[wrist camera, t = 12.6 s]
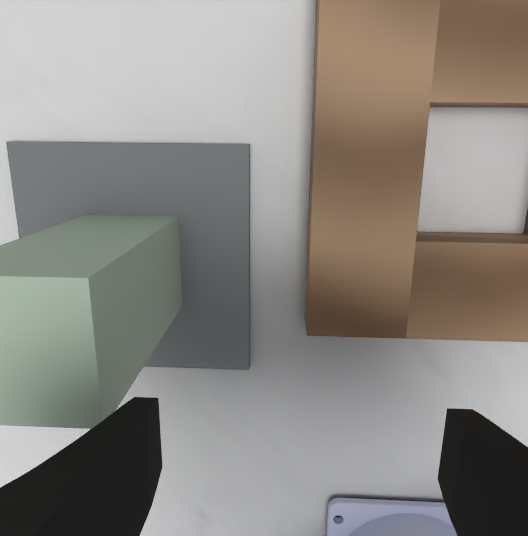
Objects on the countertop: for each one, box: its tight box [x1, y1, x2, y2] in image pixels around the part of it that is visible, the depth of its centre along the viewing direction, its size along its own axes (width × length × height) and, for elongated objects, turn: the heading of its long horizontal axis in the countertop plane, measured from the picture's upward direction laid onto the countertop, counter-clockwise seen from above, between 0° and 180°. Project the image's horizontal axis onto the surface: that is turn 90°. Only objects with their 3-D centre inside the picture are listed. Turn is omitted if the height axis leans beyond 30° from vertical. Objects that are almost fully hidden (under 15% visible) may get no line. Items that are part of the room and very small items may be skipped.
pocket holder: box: [305, 0, 528, 342], centre depth 17 cm, size 13×13×2 cm
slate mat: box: [6, 142, 250, 370], centre depth 20 cm, size 10×10×1 cm
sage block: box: [0, 215, 182, 429], centre depth 15 cm, size 4×4×9 cm
